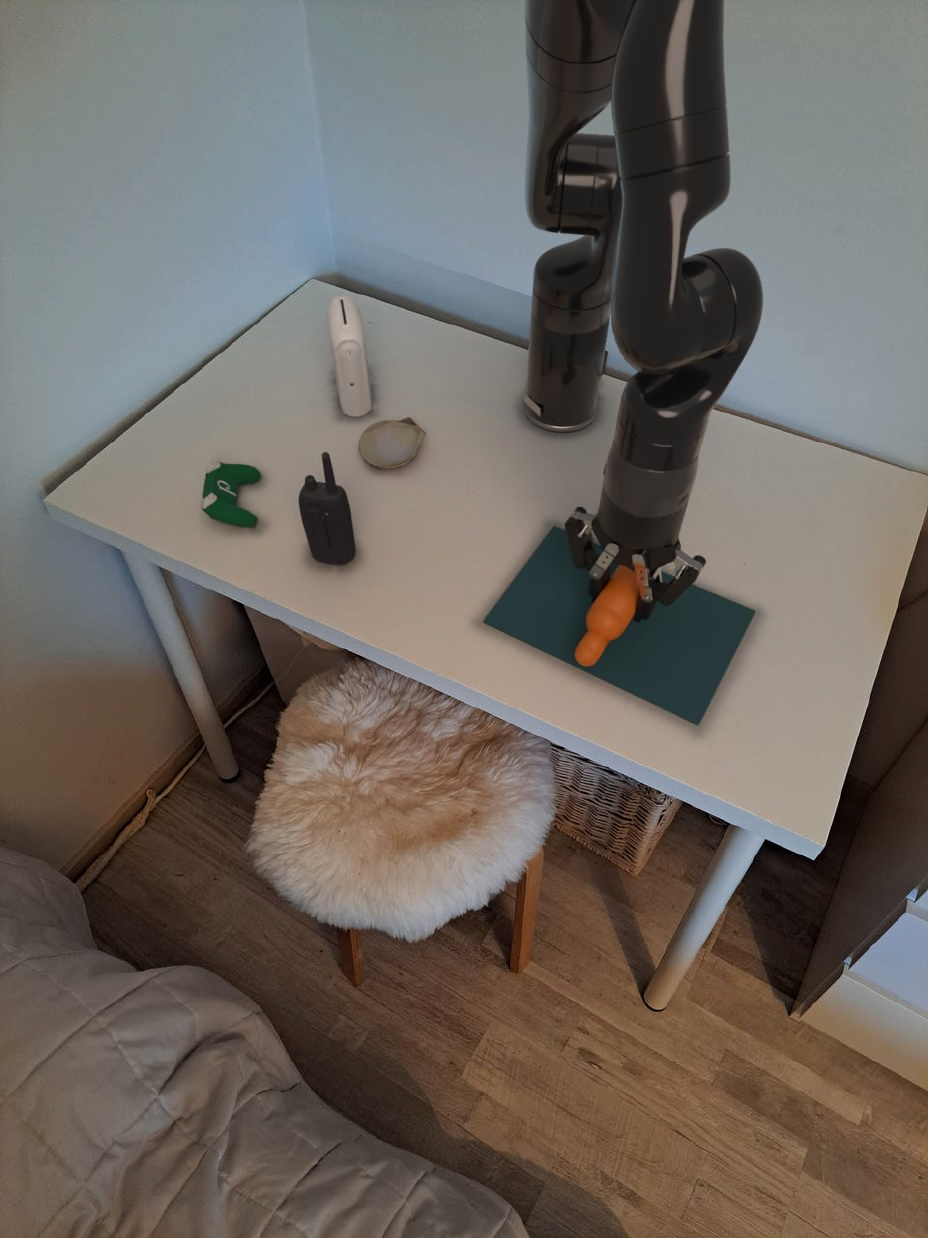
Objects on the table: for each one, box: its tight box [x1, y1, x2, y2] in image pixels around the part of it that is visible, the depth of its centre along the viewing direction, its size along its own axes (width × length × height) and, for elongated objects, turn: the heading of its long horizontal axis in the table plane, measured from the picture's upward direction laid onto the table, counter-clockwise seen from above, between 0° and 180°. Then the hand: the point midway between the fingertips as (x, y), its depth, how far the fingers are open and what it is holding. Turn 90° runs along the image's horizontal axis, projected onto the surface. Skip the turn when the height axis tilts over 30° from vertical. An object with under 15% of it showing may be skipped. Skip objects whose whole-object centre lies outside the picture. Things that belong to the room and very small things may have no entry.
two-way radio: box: [298, 451, 357, 566], centre depth 87 cm, size 6×4×15 cm
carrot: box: [575, 565, 640, 666], centre depth 84 cm, size 17×4×4 cm, turn 148°
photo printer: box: [326, 295, 372, 418], centre depth 106 cm, size 10×4×12 cm, turn 10°
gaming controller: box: [201, 459, 262, 528], centre depth 97 cm, size 9×4×6 cm
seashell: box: [358, 416, 427, 470], centre depth 103 cm, size 8×3×8 cm
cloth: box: [482, 525, 757, 726], centre depth 88 cm, size 16×24×1 cm, turn 58°
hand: (619, 605), depth 86 cm, fingers closed on carrot, 4 cm apart
